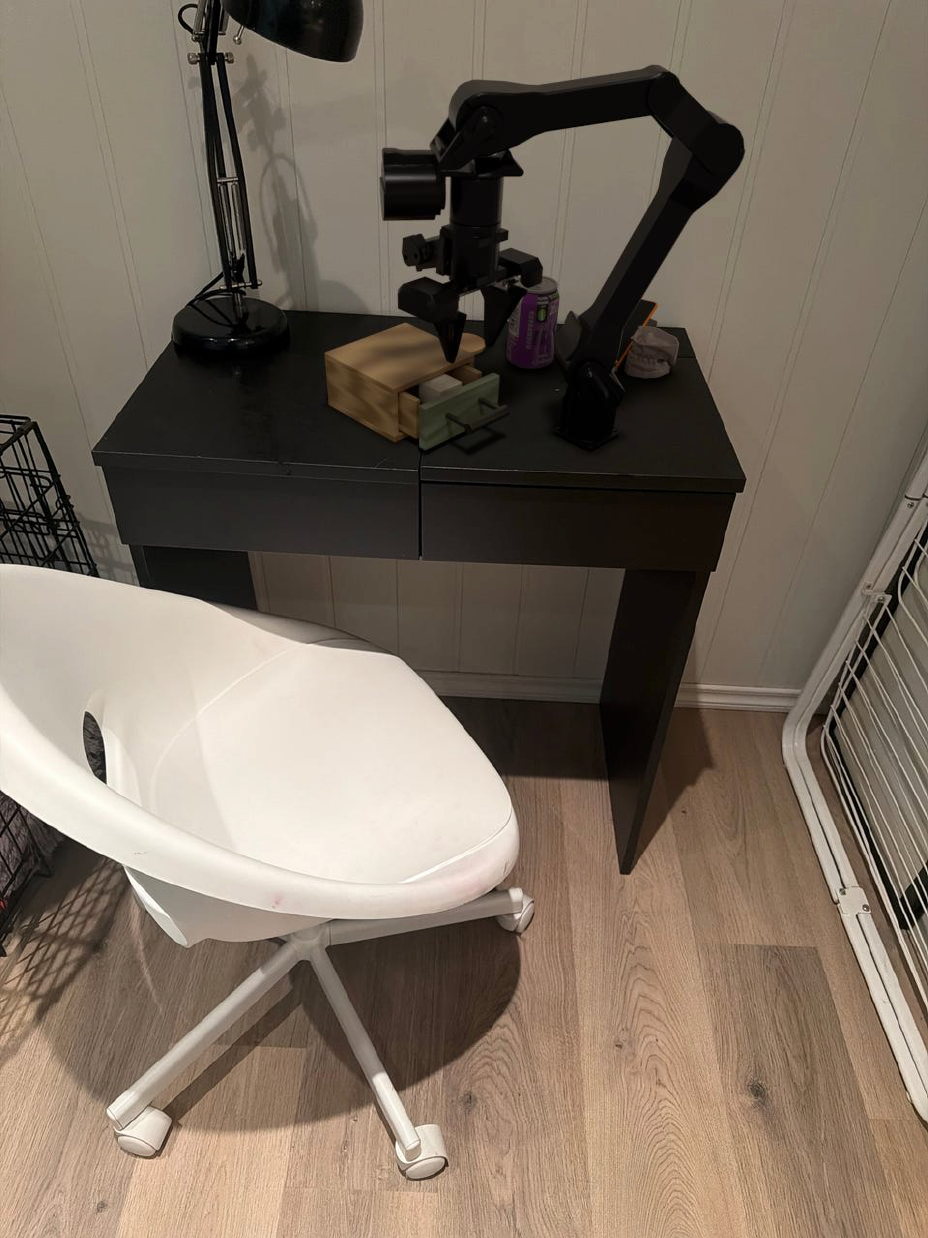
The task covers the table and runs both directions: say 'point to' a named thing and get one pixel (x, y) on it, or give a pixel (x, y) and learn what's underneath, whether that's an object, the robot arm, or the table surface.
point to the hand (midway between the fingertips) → (469, 354)
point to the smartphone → (635, 326)
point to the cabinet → (384, 374)
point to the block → (437, 387)
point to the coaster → (472, 343)
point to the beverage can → (534, 326)
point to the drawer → (451, 408)
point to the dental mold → (651, 353)
